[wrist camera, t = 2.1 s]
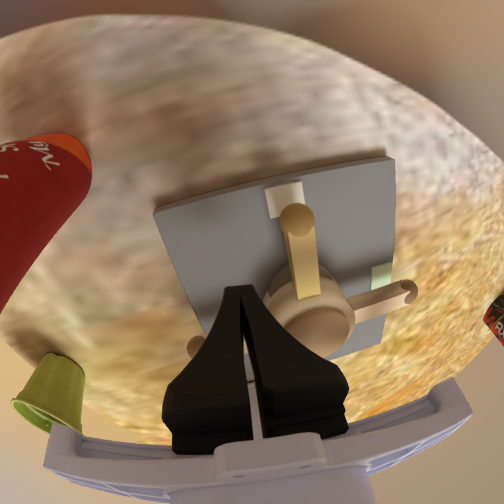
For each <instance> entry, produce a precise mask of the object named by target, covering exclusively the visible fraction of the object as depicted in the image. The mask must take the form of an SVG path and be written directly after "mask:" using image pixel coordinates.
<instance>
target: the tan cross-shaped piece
mask: <svg viewBox="0 0 504 504" xmlns="http://www.w3.org/2000/svg"><path fill="white" fill-rule="evenodd" d="M279 224H280V227H281V229H282V231H283V232H284V236H285V242H286V247H287V253H288V259H289V264H287V265H285V266H283V267H282V268H281V269H279V270H278V271H277V272H276V273H275V274H274V276H273V277H272V279H271V280H270V283H269V285H268V290H267V292H266V294H265V296H264V299H263V303H264V305H265V306H266V307H267V309H268V310H269V311H270V313H271V314H272V315H273V316H274V318H275V319H276V320H277V321H278V322H279V323H280V324H281V325H282V326H283V327H284V328H285V329H286V330H287V331H288V332H289V333H290V334H291V335H292V336H293V337H294V338H295V339H297V340H298V341H299V342H300V343H302V344H303V345H304V346H306V347H307V348H308V349H310V350H311V351H313V352H314V353H316V354H317V355H319V356H320V357H322V358H324V357H326V356H328V355H330V354H332V353H333V352H335V351H336V350H337V349H339V348H340V347H341V346H342V345H343V344H344V342H345V341H346V340H347V339H348V338H349V336H350V335H351V333H352V331H353V329H354V326H355V324H357V323H360V322H363V321H365V320H368V319H371V318H374V317H377V316H380V315H383V314H385V313H388V312H391V311H393V310H396V309H399V308H401V307H404V306H406V305H408V304H410V303H412V302H413V301H414V300H415V299H416V297H417V294H418V288H417V286H416V284H415V283H414V282H413V281H411V280H402V281H401V280H400V281H397V282H394V283H391V284H388V285H385V286H382V287H379V288H376V289H373V290H370V291H367V292H364V293H361V294H358V295H354V296H351V297H348V298H347V299H346V297H345V295H344V294H343V292H342V290H341V289H340V287H339V285H338V284H337V282H336V280H335V279H334V278H333V277H332V276H331V275H330V274H329V272H328V271H327V269H326V268H325V267H324V266H323V265H322V264H320V263H318V257H317V247H316V238H315V229H314V224H315V217H314V214H313V212H312V210H311V209H310V208H309V207H308V206H307V205H305V204H302V203H292V204H289V205H287V206H286V207H285V208H284V209H283V210H282V212H281V214H280V217H279ZM208 334H209V333H205V334H200V336H195V337H193V338H192V339H191V340H190V341H189V343H188V345H187V351H188V354H189V355H190V357H191V358H192V359H193V357H194V356H195V355H196V353H197V352H198V350H199V349H200V347H201V346H202V344H203V342H204V341H205V339H206V337H207V335H208ZM246 353H248V350H247V346H246V342H245V338H244V354H246Z"/></svg>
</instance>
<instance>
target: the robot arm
mask: <svg viewBox="0 0 504 504" xmlns="http://www.w3.org/2000/svg"><path fill="white" fill-rule="evenodd" d="M244 338H245V342H246V346H247V350H248V354H249V358H250V362H251V366H252V370H253V375H254V381H255V382H253V383H248V384H247V378H246V371H245V364H244ZM348 391H349V386H348V383H347V380H346V378H345V377H344V375H343V373H342V372H341V370H340V368H339V367H338V366H337V365H336V364H334V363H332V362H330V361H328V360H326V359H324V358H322V357H320V356H319V355H317V354H316V353H314V352H313V351H311V350H310V349H308V348H307V347H306V346H304V345H303V344H302V343H300V342H299V341H298V340H297V339H295V338H294V337H293V336H292V335H291V334H290V333H289V332H288V331H287V330H286V329H285V328H284V327H283V326H282V325H281V324H280V323H279V322H278V321H277V320H276V319H275V318H274V316H273V315H272V314H271V313H270V311H269V310H268V309H267V307H266V306H265V305H264V303H263V302H262V300H261V299H260V297H259V295H258V294H257V292H256V290H255V288H254V286H253V285H252V284H248V285H238V286H228V287H225V288H224V294H223V298H222V302H221V305H220V308H219V311H218V314H217V316H216V319H215V321H214V323H213V325H212V328H211V330H210V332H209V334H208V335H207V337H206V339H205V341H204V342H203V344H202V346H201V347H200V349H199V350H198V352H197V353H196V355H195V356H194V357H193V359H192V360H191V361H190V362H189V363H188V365H187V366H186V367H185V368H184V370H183V371H182V372H181V373H180V374H179V375H178V376H177V377H176V378H175V379H174V380H173V381H172V382H171V383H170V384H169V385H168V387H167V390H166V393H165V396H164V401H163V406H162V420H163V422H164V423H165V425H166V426H167V427H168V429H169V430H170V431H171V433H172V446H167V445H148V444H136V443H126V442H118V441H110V440H103V439H98V438H92V437H86V436H82V435H81V434H80V433H79V432H78V431H77V430H75V429H73V428H71V427H67V426H63V425H58V424H54V423H53V424H52V427H51V431H50V435H49V439H48V444H47V448H46V454H45V459H44V464H43V466H44V467H45V468H46V469H48V470H50V471H51V472H53V473H55V474H57V475H59V476H60V477H62V478H64V479H66V480H68V481H70V482H72V483H75V484H79V485H82V486H85V487H89V488H93V489H97V490H100V491H104V492H108V493H112V494H117V495H122V496H126V497H131V498H136V499H142V500H148V501H155V502H163V503H170V504H377V503H376V500H375V497H374V493H373V490H372V487H371V484H370V481H369V478H368V476H370V475H372V474H375V473H377V472H379V471H382V470H384V469H386V468H389V467H391V466H393V465H395V464H397V463H399V462H401V461H404V460H406V459H408V458H409V457H411V456H413V455H415V454H417V453H419V452H421V451H423V450H425V449H426V448H428V447H430V446H432V445H434V444H436V443H437V442H439V441H441V440H443V439H444V438H446V437H448V436H449V435H450V434H451V433H453V432H454V431H455V430H456V429H457V428H459V427H460V426H461V425H462V424H463V423H464V422H465V421H467V419H468V418H470V417H471V416H472V415H473V413H474V412H473V410H472V408H471V407H470V405H469V403H468V401H467V400H466V398H465V396H464V394H463V393H462V391H461V389H460V388H459V386H458V384H457V383H456V381H455V379H454V378H453V377H451V378H449V379H447V380H444V381H442V382H440V383H438V384H437V385H435V386H434V387H433V388H432V389H431V390H430V391H429V393H428V395H426V396H423V397H421V398H419V399H416V400H414V401H412V402H409V403H407V404H404V405H402V406H399V407H397V408H394V409H391V410H389V411H386V412H383V413H380V414H377V415H374V416H371V417H368V418H365V419H362V420H359V421H355V422H352V423H349V424H348V423H347V421H346V418H345V415H344V413H345V408H344V405H343V402H344V400H345V398H346V396H347V394H348Z"/></svg>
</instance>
